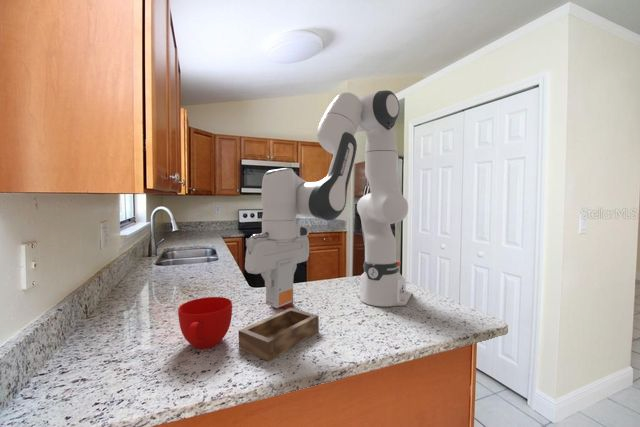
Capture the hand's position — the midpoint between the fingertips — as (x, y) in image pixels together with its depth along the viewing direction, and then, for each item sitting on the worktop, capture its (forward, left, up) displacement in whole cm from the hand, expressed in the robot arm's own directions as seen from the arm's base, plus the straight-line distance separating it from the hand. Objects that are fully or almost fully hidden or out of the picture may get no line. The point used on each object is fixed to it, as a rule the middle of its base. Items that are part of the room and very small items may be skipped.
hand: (279, 283), depth 78 cm
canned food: (-19, -18, -15) cm, 30 cm away
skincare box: (0, 0, -5) cm, 5 cm away
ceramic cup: (+14, -13, -15) cm, 24 cm away
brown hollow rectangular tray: (0, 0, -15) cm, 15 cm away
